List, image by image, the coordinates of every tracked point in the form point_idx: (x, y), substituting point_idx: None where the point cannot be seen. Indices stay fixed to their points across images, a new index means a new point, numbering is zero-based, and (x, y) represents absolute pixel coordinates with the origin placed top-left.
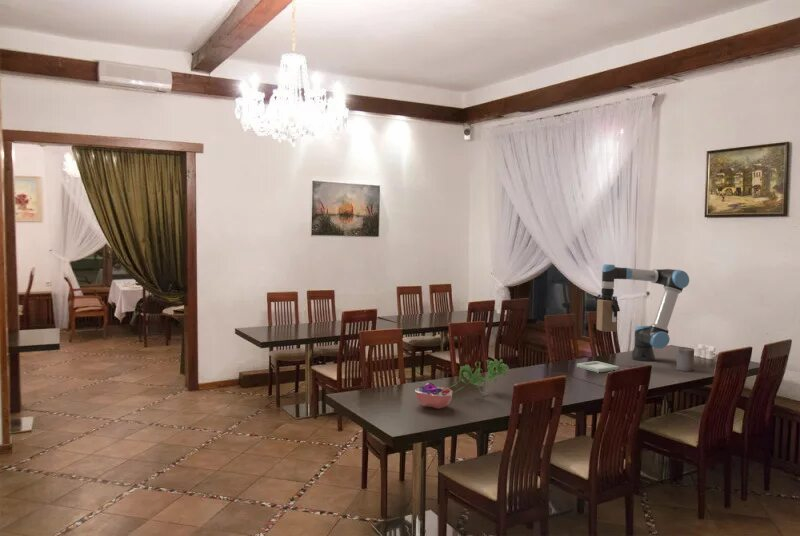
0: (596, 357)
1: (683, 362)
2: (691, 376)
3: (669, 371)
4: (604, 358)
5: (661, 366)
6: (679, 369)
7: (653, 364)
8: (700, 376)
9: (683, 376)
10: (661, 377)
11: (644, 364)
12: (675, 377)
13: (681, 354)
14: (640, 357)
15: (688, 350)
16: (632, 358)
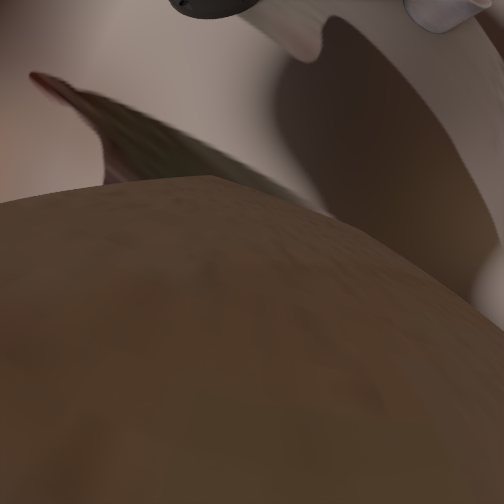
0: (115, 154)
1: (459, 23)
2: (496, 86)
3: (440, 74)
4: (142, 130)
5: (365, 22)
6: (434, 31)
7: (325, 17)
8: (497, 64)
9: (494, 107)
10: (488, 185)
11: (314, 47)
12: (497, 143)
13: (470, 13)
14: (241, 4)
15: (490, 3)
16: (198, 18)
